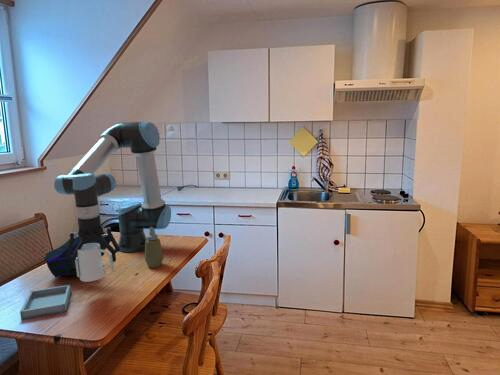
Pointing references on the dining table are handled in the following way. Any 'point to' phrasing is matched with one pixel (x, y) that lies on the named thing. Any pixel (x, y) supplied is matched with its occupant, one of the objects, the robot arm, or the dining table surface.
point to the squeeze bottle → (153, 250)
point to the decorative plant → (58, 257)
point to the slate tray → (46, 302)
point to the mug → (91, 262)
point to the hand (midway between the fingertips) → (96, 272)
